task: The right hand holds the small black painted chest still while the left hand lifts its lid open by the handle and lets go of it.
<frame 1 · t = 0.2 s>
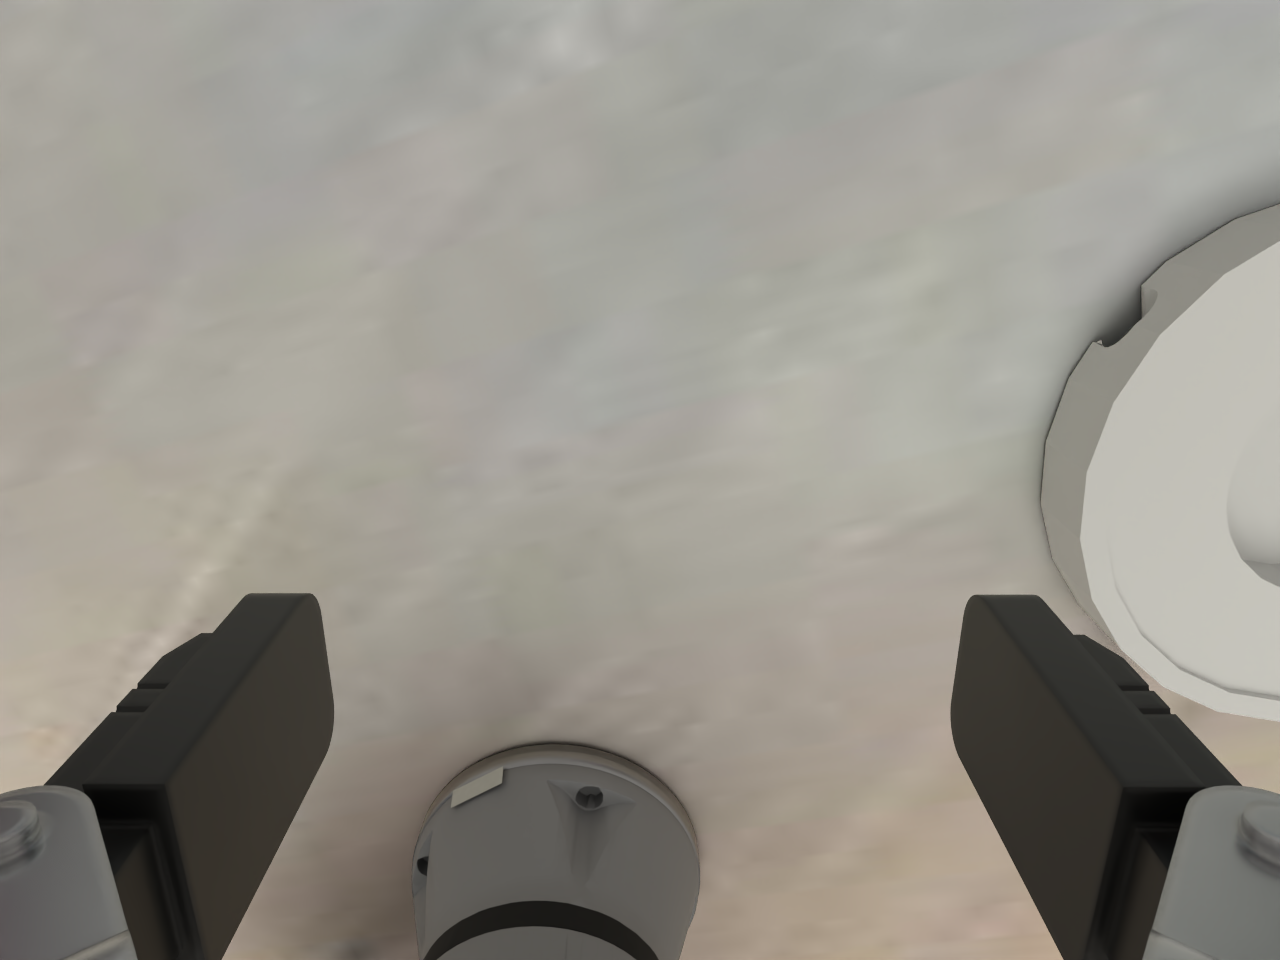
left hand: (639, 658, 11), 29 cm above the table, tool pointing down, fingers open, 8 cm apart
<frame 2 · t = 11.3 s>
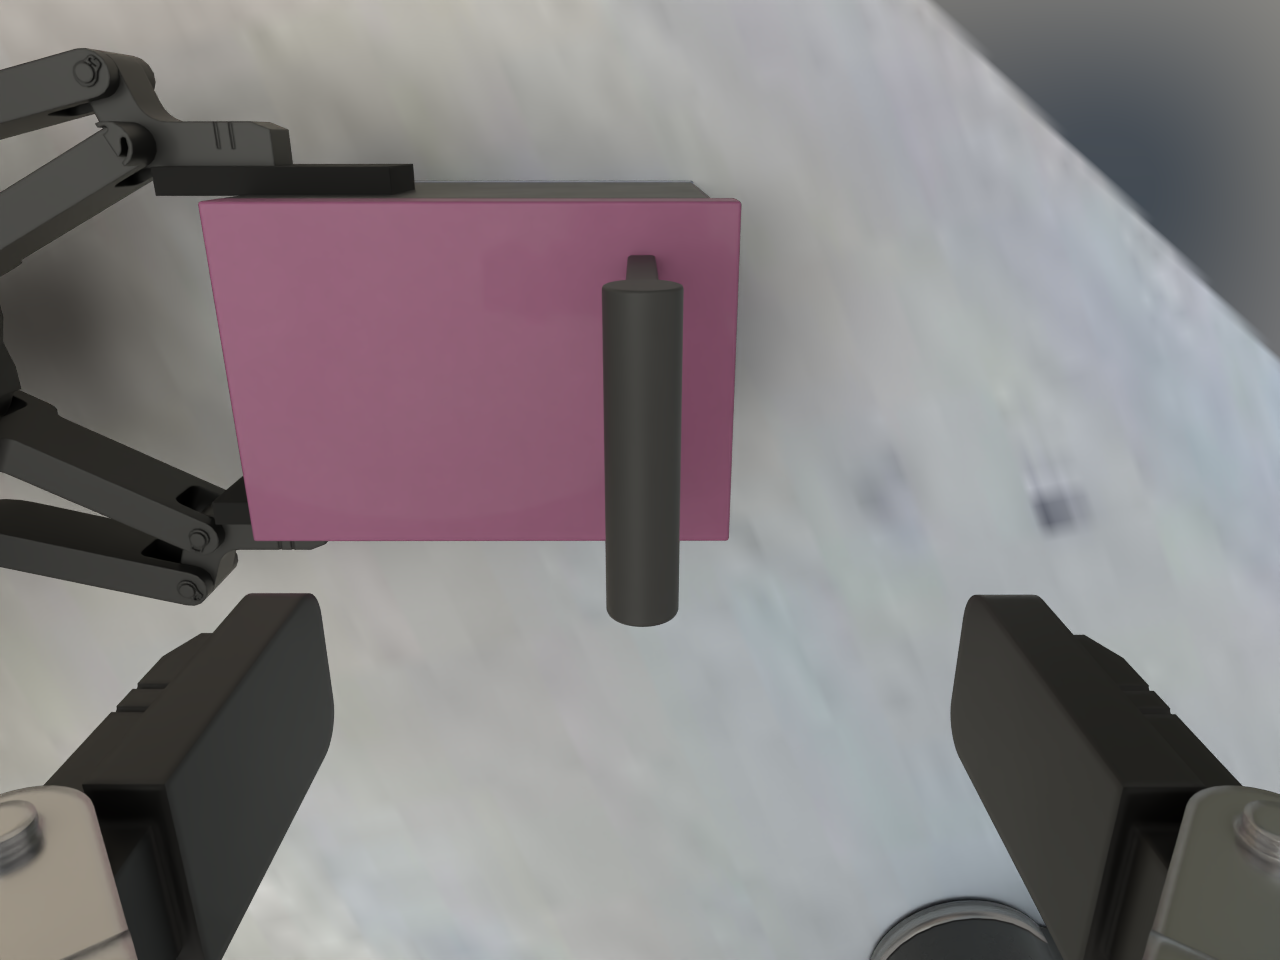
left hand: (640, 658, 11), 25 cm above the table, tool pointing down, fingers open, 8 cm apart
right hand: (417, 348, 28), fingers closed on chest, 9 cm apart
lid: (462, 412, 21), point 14 cm above the table, hinge at 0.0°
chest: (521, 307, 34), on the table, touching right hand
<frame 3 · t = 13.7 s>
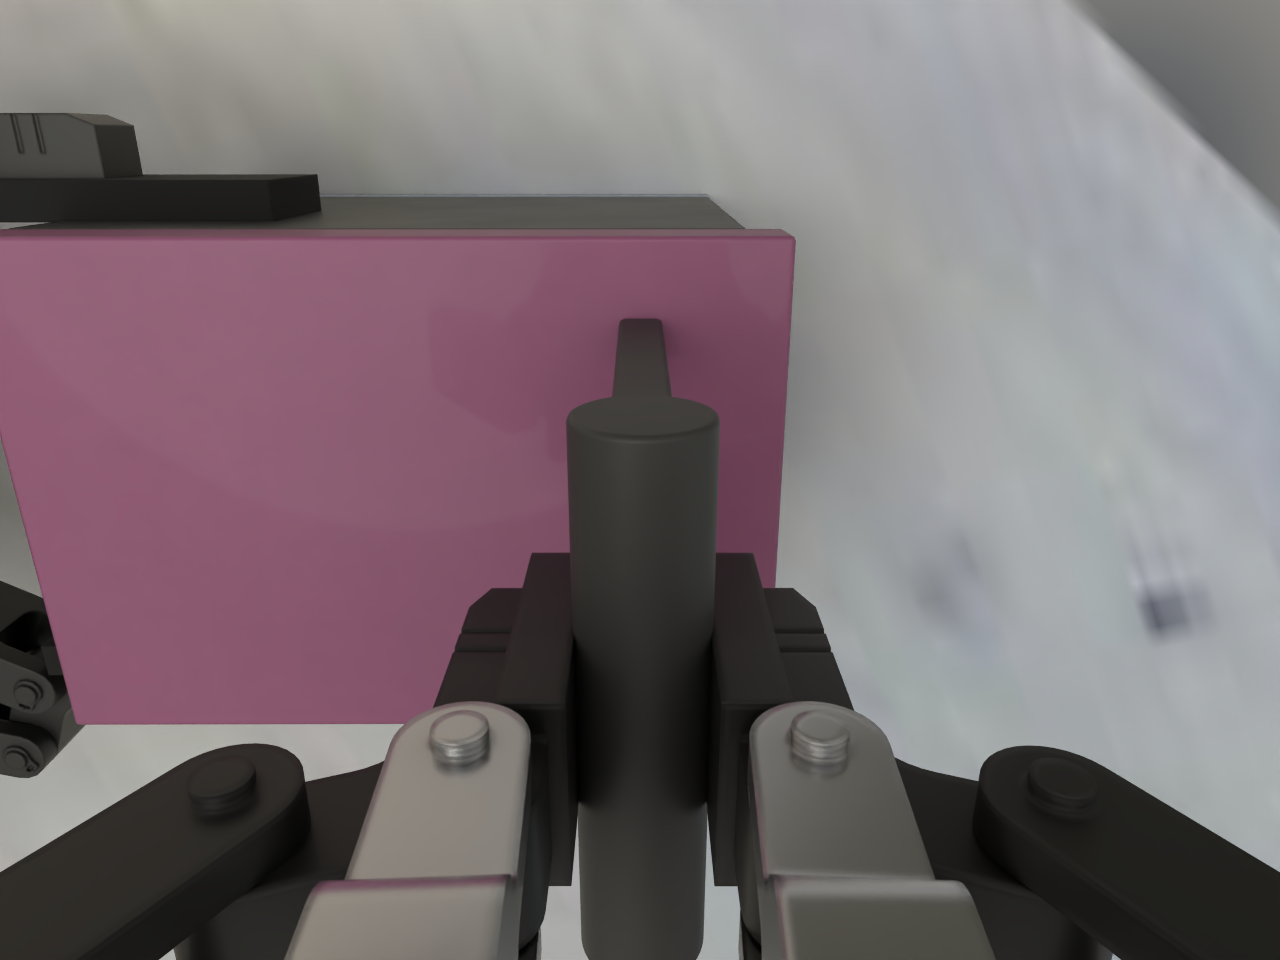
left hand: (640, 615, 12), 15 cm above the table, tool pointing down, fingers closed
lid: (353, 576, 13), point 14 cm above the table, hinge at -0.1°, touching left hand
chest: (485, 358, 26), on the table, touching right hand
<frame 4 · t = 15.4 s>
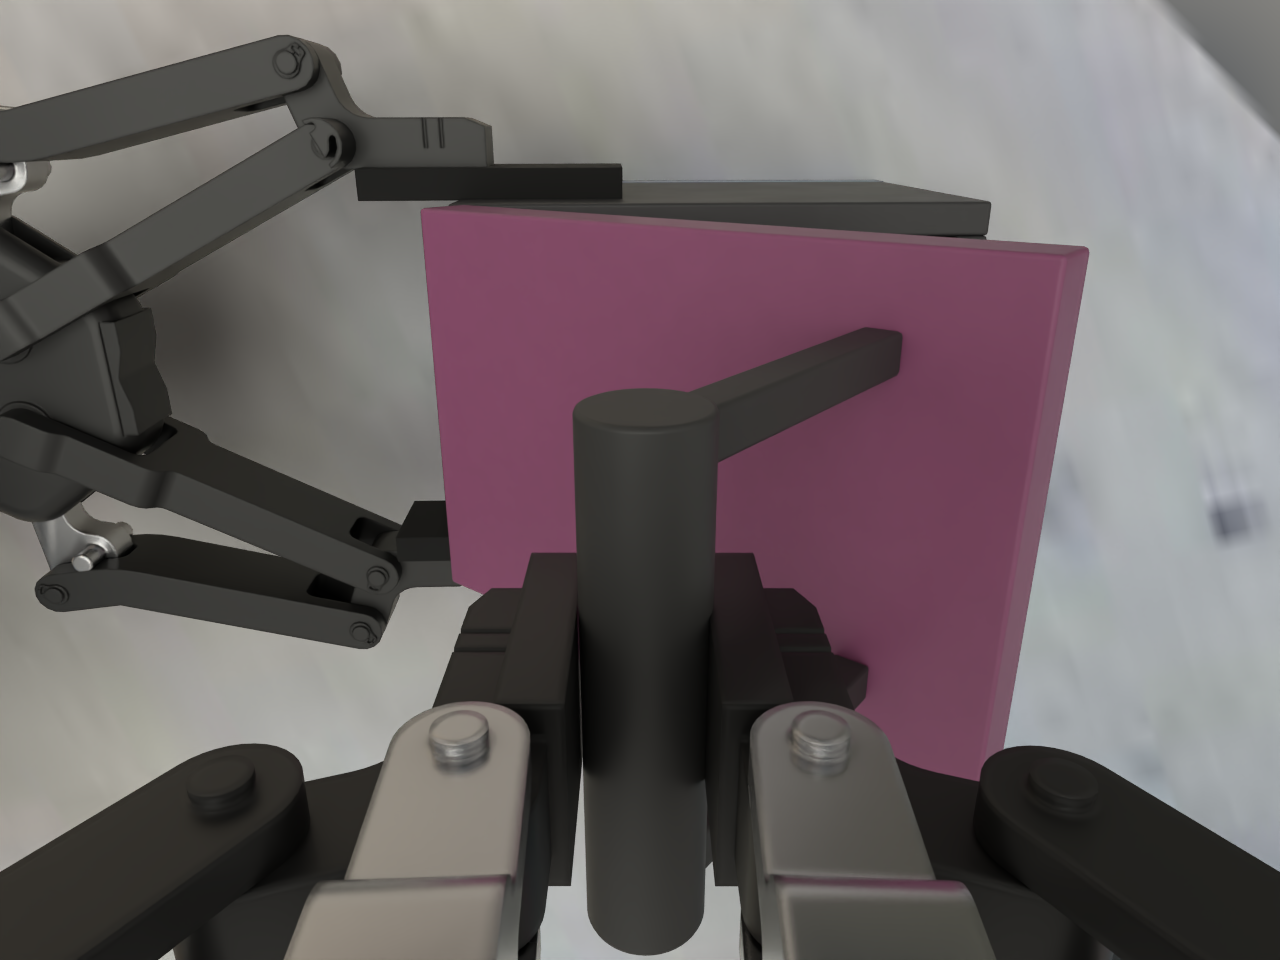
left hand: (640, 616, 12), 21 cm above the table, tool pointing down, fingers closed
right hand: (623, 365, 25), fingers closed on chest, 9 cm apart
lid: (567, 514, 15), point 18 cm above the table, hinge at 40.0°, touching left hand
chest: (685, 316, 32), on the table, touching right hand
when the right hand's fingers open (7 cm above the table, at t = 20.5 s): chest stays where it is, on the table.
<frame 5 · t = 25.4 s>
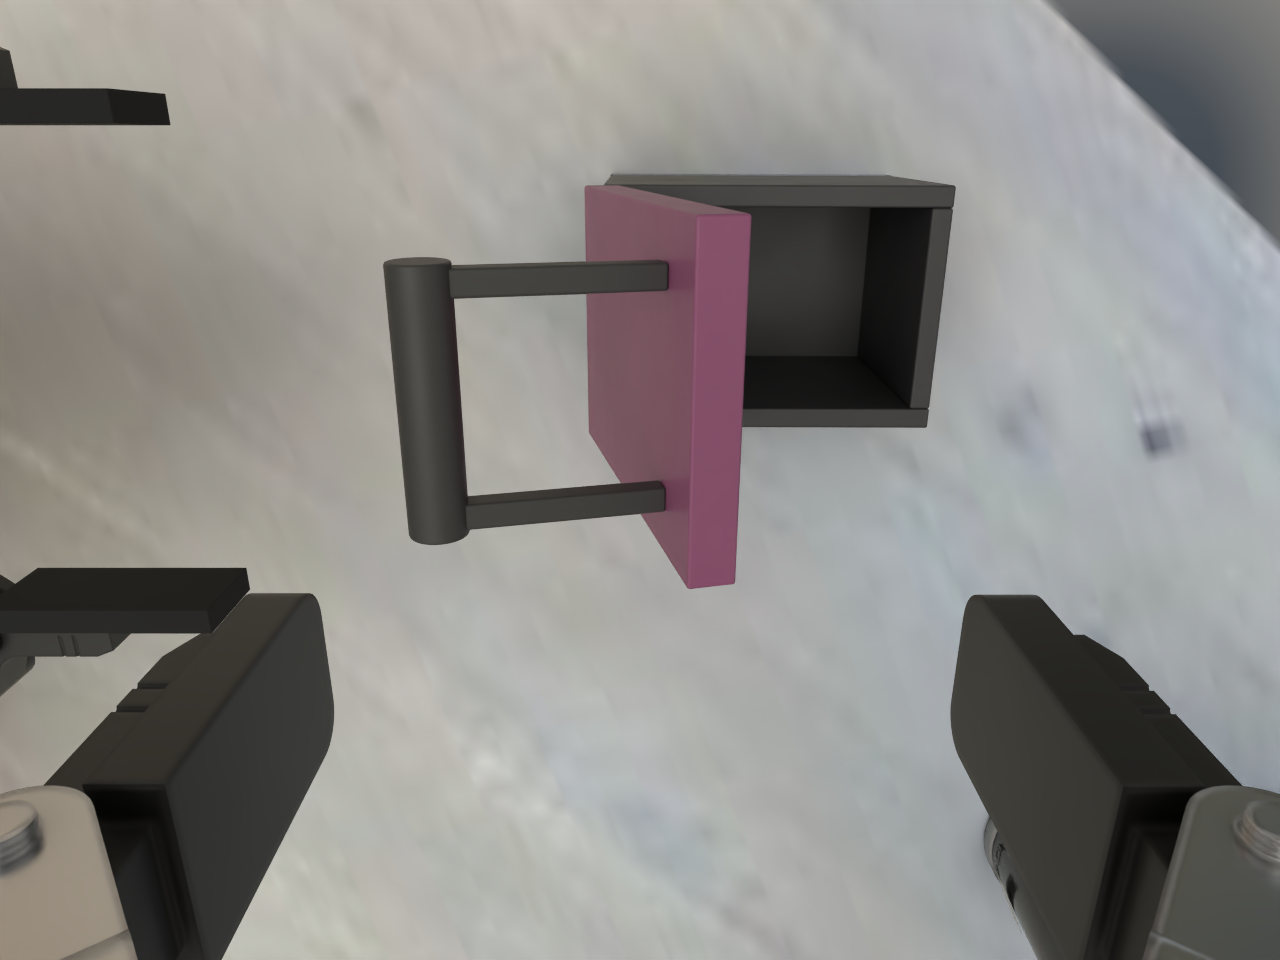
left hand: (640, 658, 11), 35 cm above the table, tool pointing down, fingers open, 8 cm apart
lid: (537, 359, 27), point 18 cm above the table, hinge at 76.1°
chest: (744, 274, 44), on the table
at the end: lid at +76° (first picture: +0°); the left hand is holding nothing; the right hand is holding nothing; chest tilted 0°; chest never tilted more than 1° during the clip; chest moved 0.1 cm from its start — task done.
